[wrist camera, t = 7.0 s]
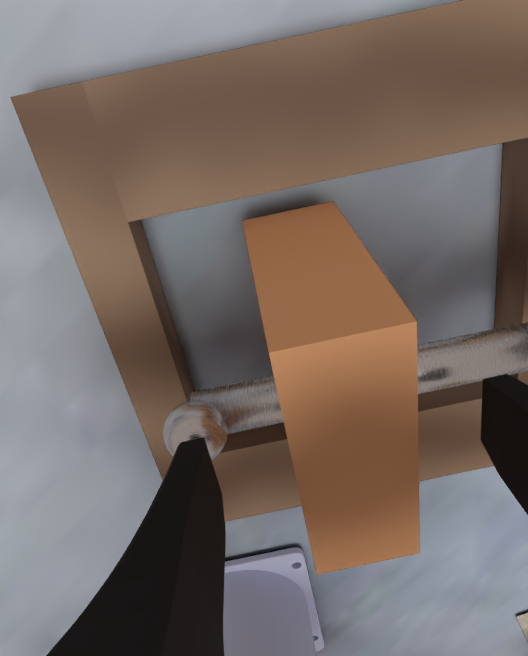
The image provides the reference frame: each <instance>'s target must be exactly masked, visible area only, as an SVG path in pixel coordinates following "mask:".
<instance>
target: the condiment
mask: <svg viewBox="0 0 528 656" xmlns="http://www.w3.org/2000/svg"><path fill="white" fill-rule="evenodd" d="M517 619H518V621H519V624H520V626H521V628H522V630H523V632H524V634H525V637H526V639H527V641H528V613H526V614H523V615H520V616H517Z"/></svg>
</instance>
